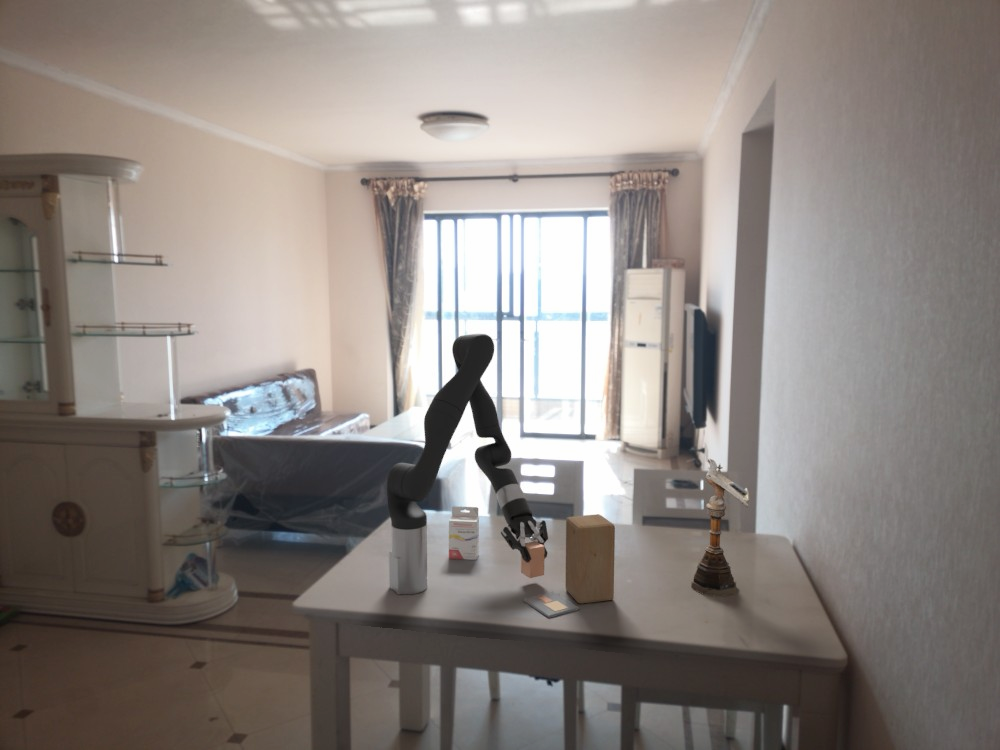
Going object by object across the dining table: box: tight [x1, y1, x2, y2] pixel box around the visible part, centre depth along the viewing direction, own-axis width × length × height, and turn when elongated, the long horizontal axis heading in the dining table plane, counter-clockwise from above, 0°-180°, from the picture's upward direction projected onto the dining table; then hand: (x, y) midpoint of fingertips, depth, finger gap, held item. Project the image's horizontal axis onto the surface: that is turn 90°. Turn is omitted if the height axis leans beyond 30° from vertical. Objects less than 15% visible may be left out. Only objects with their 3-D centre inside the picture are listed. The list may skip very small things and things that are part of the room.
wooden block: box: [565, 514, 616, 604], centre depth 179 cm, size 10×10×20 cm
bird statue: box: [690, 458, 750, 597], centre depth 184 cm, size 17×13×35 cm
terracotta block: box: [520, 541, 546, 579], centre depth 188 cm, size 4×4×8 cm
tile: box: [523, 591, 580, 619], centre depth 174 cm, size 9×11×1 cm
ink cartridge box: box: [448, 505, 480, 561], centre depth 207 cm, size 9×5×15 cm, turn 84°
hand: (536, 559), depth 186 cm, fingers closed on terracotta block, 4 cm apart
